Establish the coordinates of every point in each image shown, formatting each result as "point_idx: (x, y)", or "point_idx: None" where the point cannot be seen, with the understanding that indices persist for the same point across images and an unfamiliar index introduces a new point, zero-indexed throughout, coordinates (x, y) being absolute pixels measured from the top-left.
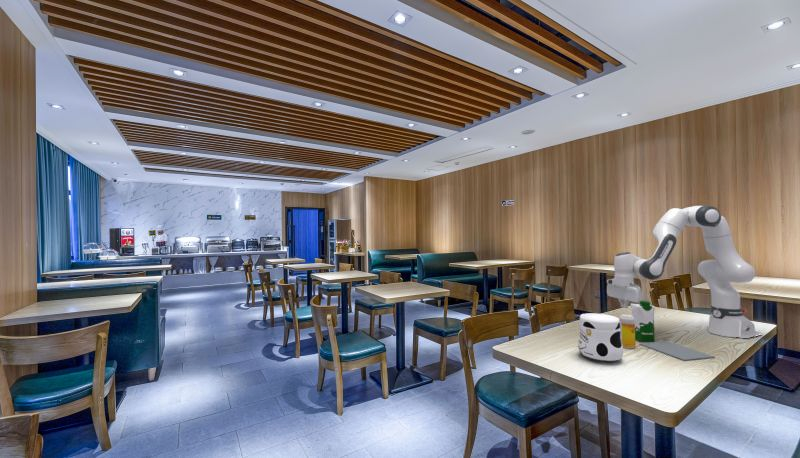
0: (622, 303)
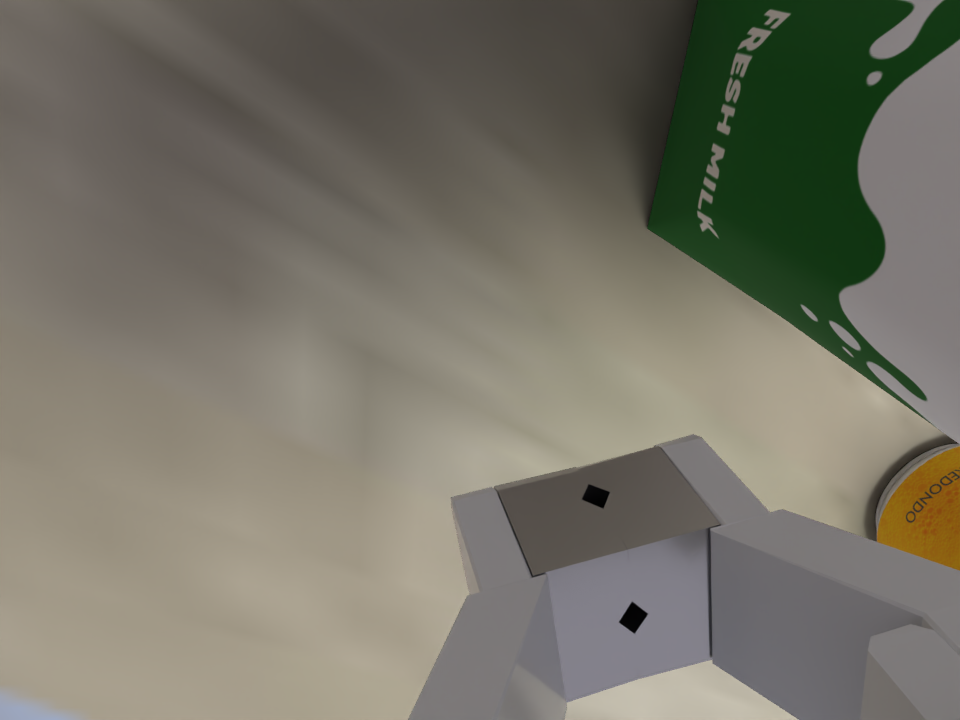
0: (548, 686)
